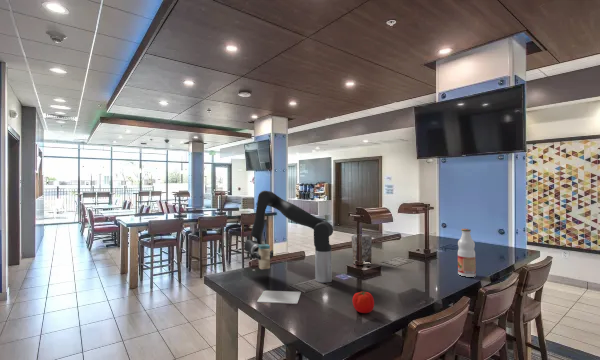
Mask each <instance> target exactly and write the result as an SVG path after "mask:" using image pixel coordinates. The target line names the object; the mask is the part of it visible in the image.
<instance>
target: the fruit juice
mask: <svg viewBox="0 0 600 360" xmlns="http://www.w3.org/2000/svg"><path fill="white" fill-rule="evenodd" d="M471 232H472V230H471V229H470V228H461V236H460V238H459V239H458V241H457V247H458V248H457V249H458V250H457V275H458V274H459V275H461V276H466V277H474V276H475V277H476V275H477V273H476V272H477V271H476V269H477V268H476V266H477V263H476V251H475V247H476V244H475V240H474V239H473V238H472V236H471ZM459 275H458V276H459ZM461 276H460V277H461ZM475 277H474V278H475Z"/></svg>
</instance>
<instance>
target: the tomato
mask: <svg viewBox="0 0 600 360" xmlns="http://www.w3.org/2000/svg"><path fill="white" fill-rule="evenodd" d="M352 305H353V308H354V309H355V311H356V312H359V313H360V314H368V313H371V312H372V311H373V309H374V307H375V299H374V296H373V295H372V293H370V292H367V291H366V290H363V291H360V292H355V293H354V294H353V296H352Z"/></svg>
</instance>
